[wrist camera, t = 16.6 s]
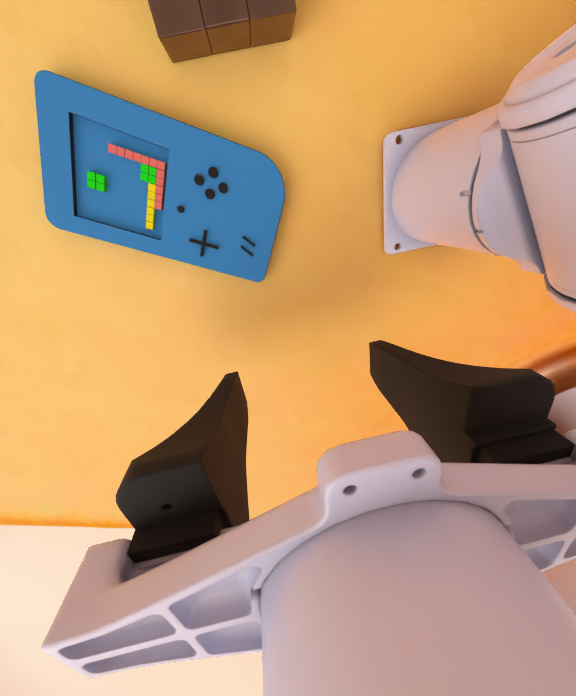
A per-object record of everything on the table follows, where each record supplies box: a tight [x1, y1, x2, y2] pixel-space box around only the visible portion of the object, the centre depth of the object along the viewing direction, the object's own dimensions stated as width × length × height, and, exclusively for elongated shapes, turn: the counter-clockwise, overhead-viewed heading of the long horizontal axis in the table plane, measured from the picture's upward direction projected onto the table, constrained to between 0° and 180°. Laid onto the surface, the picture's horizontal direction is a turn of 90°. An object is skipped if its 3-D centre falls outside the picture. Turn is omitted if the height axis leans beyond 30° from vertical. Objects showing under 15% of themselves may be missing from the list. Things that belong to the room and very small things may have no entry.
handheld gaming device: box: [34, 70, 285, 282], centre depth 18 cm, size 8×1×15 cm
